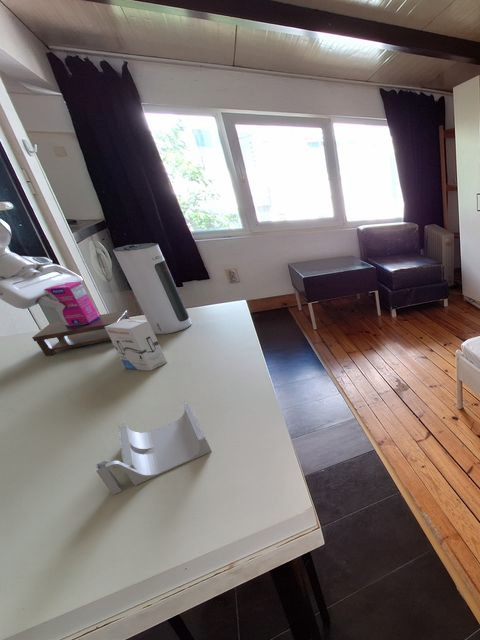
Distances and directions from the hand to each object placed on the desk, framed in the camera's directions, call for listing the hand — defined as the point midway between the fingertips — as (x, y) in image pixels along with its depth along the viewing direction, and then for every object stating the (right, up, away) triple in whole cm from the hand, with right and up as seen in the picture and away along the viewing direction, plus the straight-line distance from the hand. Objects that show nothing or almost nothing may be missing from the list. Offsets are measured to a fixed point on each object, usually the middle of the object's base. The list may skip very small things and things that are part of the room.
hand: (75, 303), depth 104 cm
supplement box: (0, -5, +3) cm, 6 cm away
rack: (0, -11, +5) cm, 12 cm away
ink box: (+30, -17, -10) cm, 36 cm away
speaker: (+18, -7, +12) cm, 23 cm away
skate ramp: (+58, -31, -40) cm, 77 cm away
